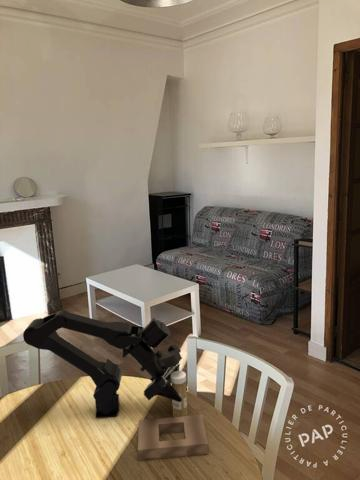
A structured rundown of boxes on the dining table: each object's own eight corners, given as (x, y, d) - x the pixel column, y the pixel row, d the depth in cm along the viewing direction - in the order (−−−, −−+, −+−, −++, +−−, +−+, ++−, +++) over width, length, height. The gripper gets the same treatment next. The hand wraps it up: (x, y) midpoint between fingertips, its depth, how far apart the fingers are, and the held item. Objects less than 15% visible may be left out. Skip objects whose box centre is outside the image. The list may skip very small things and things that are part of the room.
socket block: (138, 460, 107) (137, 450, 106) (139, 429, 118) (138, 420, 118) (208, 453, 108) (207, 443, 107) (202, 424, 120) (202, 414, 119)
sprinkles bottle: (190, 416, 123) (189, 374, 121) (178, 422, 121) (175, 380, 118) (182, 408, 127) (180, 368, 124) (169, 414, 125) (167, 373, 122)
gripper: (151, 356, 112) (193, 399, 111) (174, 328, 129) (209, 364, 128) (127, 379, 116) (166, 421, 115) (151, 348, 133) (186, 384, 132)
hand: (183, 395), depth 122 cm, fingers open, 5 cm apart
